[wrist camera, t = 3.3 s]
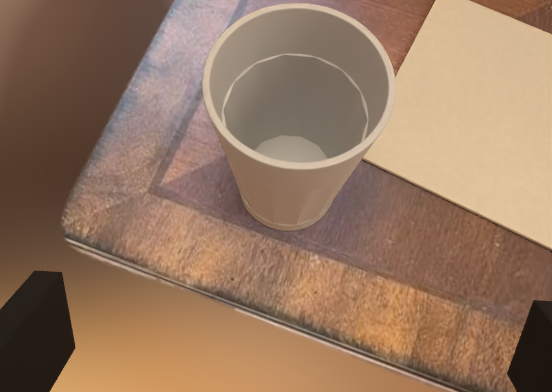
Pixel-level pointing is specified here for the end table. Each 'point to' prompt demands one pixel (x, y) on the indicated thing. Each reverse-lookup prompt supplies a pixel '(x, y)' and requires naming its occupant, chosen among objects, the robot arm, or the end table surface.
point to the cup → (296, 107)
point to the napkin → (476, 117)
